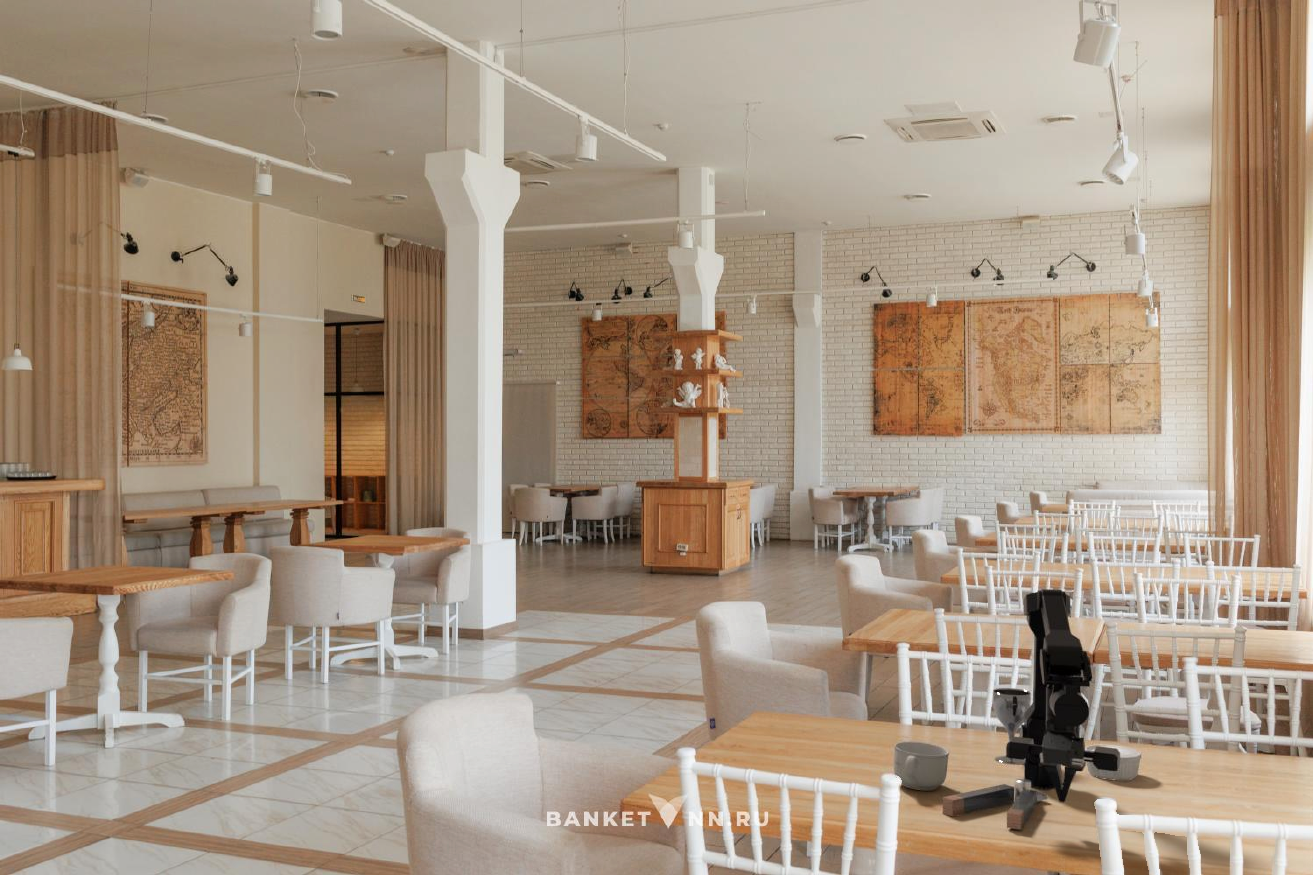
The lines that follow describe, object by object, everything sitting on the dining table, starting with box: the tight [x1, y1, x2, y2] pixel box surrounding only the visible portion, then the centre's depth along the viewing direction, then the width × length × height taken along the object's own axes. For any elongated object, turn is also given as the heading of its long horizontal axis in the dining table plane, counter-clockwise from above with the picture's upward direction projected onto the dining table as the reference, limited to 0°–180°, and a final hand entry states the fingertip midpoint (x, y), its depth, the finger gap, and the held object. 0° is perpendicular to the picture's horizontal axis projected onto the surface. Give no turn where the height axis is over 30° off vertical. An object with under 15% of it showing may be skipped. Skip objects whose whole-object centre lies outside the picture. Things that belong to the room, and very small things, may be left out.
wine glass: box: [992, 687, 1032, 765], centre depth 253 cm, size 8×8×15 cm
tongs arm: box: [1006, 789, 1037, 831], centre depth 212 cm, size 17×2×3 cm, turn 153°
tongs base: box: [942, 778, 1048, 818], centre depth 218 cm, size 23×5×4 cm, turn 123°
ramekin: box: [1085, 744, 1142, 781], centre depth 242 cm, size 11×11×5 cm
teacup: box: [893, 741, 950, 792], centre depth 230 cm, size 14×11×8 cm
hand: (1062, 801), depth 205 cm, fingers closed
